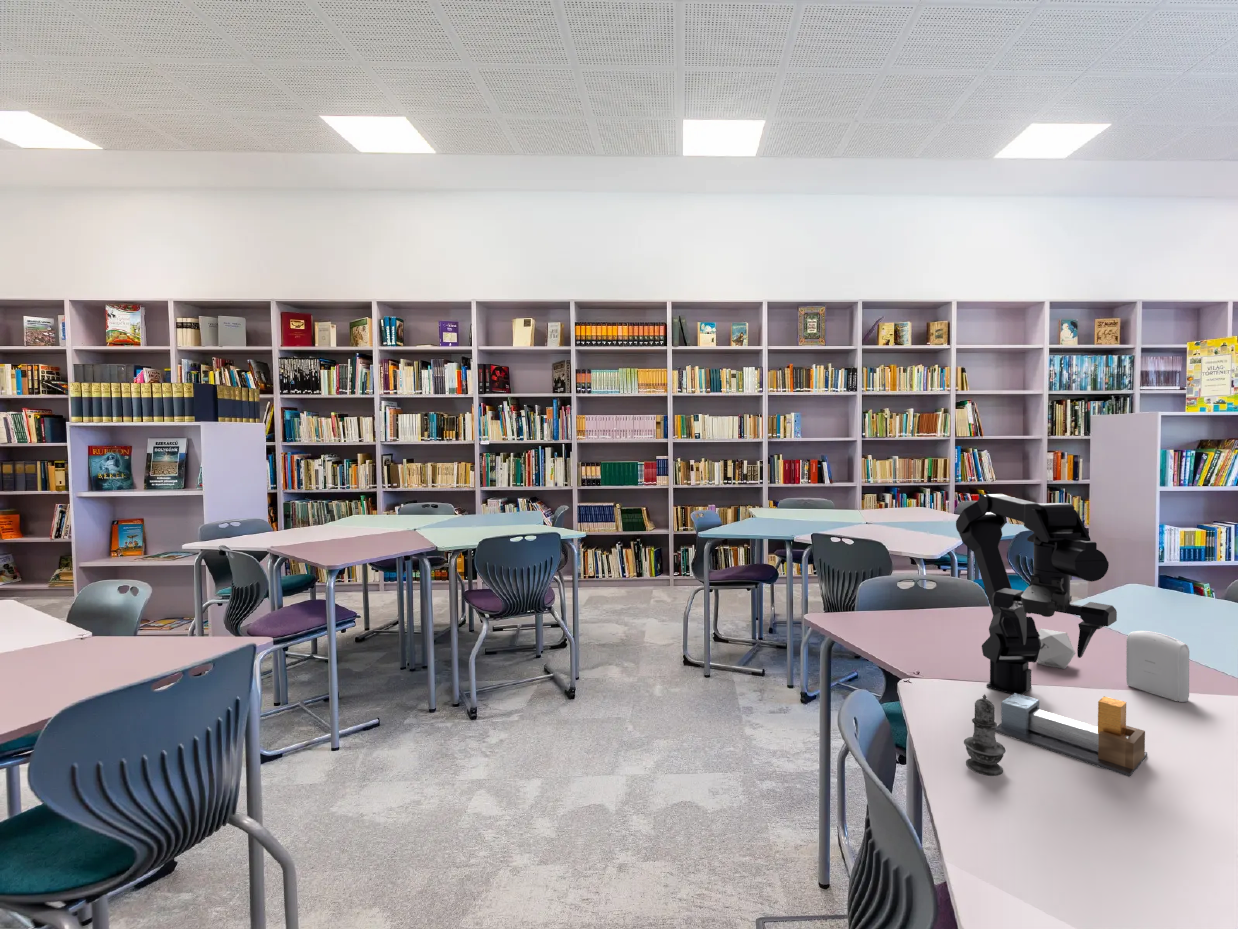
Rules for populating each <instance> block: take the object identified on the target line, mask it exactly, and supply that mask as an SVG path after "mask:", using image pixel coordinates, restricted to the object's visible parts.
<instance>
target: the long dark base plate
mask: <svg viewBox="0 0 1238 929" xmlns="http://www.w3.org/2000/svg"><path fill="white" fill-rule="evenodd" d="M1040 702H1041V701H1040V699H1038V698H1035V697H1031V696H1028V695H1024V694H1023V695H1021V694H1017V693H1014V694H1011V695H1009V696H1008V697H1007V698H1005V699H1004V700H1002V701H1001V709H1000V710H1001V712H1000V713H1001V717H1000V718H1001V719H1000V721H1001V722H1000V723H999V724H997V727H996V728H995V733H997V734H1000V735H1003V736H1006V737H1008V738H1012V739H1015V740H1018V741H1020V742H1021V741H1022V742H1023V743H1027V744H1029V745H1033V746H1035V747H1039V748H1042V749H1045V750H1048V751H1052V752H1054V753H1057V754H1061V755H1063V756H1066V757H1069V758H1072V759H1073V760H1078V761H1080V762H1084V763H1087V764H1090V765H1093V766H1095V767H1099V768H1102V769H1105V770H1108V771H1111V772H1113V773H1117V774H1120V775H1123V776H1125V777H1128V778H1131V777H1132V775H1133V774H1134V773H1135V772H1136V770H1138V768H1139V767H1140V765H1141V764H1142V763H1143V762H1144V761H1145V760H1146V758H1147V757H1148V752H1147V751H1145V756H1144V757H1143V758H1142V760H1141V761H1140V762H1139V763H1138V764H1137V766H1136V767H1135V768H1134V769H1130V768H1127V767H1124V766H1120V765H1117V764H1114V763H1111V762H1108V761H1105V760H1102V759H1099V758H1098V752H1097V751H1094V750H1091V749H1088V748H1085V747H1082V746H1079V745H1076V744H1072V743H1069V742H1066V741H1063V740H1060V739H1057V738H1054V737H1050V736H1047V735H1044V734H1041V733H1038V732H1035V731H1032V730H1029V729H1028V712H1029V711H1030V710H1031V709H1033V708H1036V709H1039V710H1040Z"/></svg>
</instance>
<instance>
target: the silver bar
mask: <svg viewBox="0 0 1238 929" xmlns="http://www.w3.org/2000/svg"><path fill="white" fill-rule="evenodd" d="M1097 703H1098V704H1097V705H1098V706H1097V725H1094V724H1090V723H1088V722H1087V723H1086V722H1083V721H1080V720H1075V719H1073V718H1069V717H1067V716H1062V715H1059V714H1056V713H1052V712H1048V711H1045V710H1042V709H1040V708H1039V709H1036V708H1033V709H1031V710H1030V711H1029V712H1028V729H1029V730H1032V731H1035V732H1038V733H1041V734H1044V735H1047V736H1050V737H1054V738H1057V739H1060V740H1063V741H1066V742H1069V743H1072V744H1076V745H1079V746H1082V747H1085V748H1088V749H1091V750H1094V751H1097V752H1098V741H1099V732H1100V731H1103V732H1106V733H1110V734H1113V735H1117V736H1120V737H1123V738H1127V739H1128V738H1129V737H1130V736H1128V735H1126V726H1127V702H1126V701H1123V700H1119V699H1115V698H1113V697H1108V696H1103V697H1102V698H1100V699H1099V700H1098V702H1097Z"/></svg>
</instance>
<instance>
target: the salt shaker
mask: <svg viewBox="0 0 1238 929" xmlns="http://www.w3.org/2000/svg"><path fill="white" fill-rule="evenodd" d="M987 698H988V696H987V695H986V694H985V693H984V694H982V698H979V699H977V700H975V702H974V717H973V718H971V722H972V723H973V735H972V736H969V737H966V738H965V739H964V740H963V744H964V746H965V749H966V752H967V754H968V756H969V758H967V759H966V761H965V766H966V767H967V768H968V769H969V770H971V771H973V772H975V773H976V774H981V775H984V776H990V777H998V776H1001V775H1003V774H1004V768H1003V767H1002V766H1001V765H1000V764H999V763H1000V762H1001V761H1002V759H1003V758H1004V754H1006V750H1007V748H1005V746H1004V745H1003V744H1001V743H1000V742H999V741H997V739H996V732H995V728H996V727H997V726H998V723H997V722H996V720H995V719H996V718H995V717H996V710H995V709H996V707H995V704H994V703H993V702H992V701H990V700H989V699H987Z"/></svg>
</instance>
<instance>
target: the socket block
mask: <svg viewBox="0 0 1238 929" xmlns="http://www.w3.org/2000/svg"><path fill="white" fill-rule="evenodd" d="M1126 735H1128V736H1130V737H1129V738H1128V739H1127V738H1123V737H1120V736H1117V735H1113V734H1110V733H1106V732H1103V731H1100V732H1099V741H1098V758H1099V759H1102V760H1105V761H1108V762H1111V763H1114V764H1117V765H1120V766H1124V767H1127V768H1130V769H1134V768H1135V767H1136V766H1137V764H1138V763H1139V762H1140V761H1141V760H1142V758H1143V757H1144V756H1145V752H1146V743H1145V742H1146V730H1144V729H1140V728H1136V727H1132V726H1129V725H1126Z"/></svg>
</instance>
